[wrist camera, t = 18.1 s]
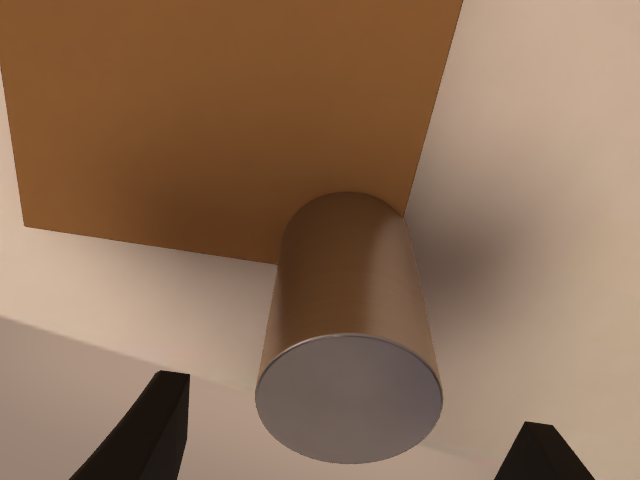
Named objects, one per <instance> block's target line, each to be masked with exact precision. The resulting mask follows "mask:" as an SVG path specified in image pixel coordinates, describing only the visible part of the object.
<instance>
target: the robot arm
mask: <svg viewBox="0 0 640 480" xmlns="http://www.w3.org/2000/svg"><path fill="white" fill-rule="evenodd" d="M189 384H190V374H184V373H177V372H170V371H162V370H161V371H159V372H157V373H156V374H155V375H154V376H153V378H152V379H151V381H150V382H149V384H148V385H147V387H146V388H145V389H144V391H143V392H142V393H141V395H140V396H139V398H138V399H137V401H136V402H135V403H134V404H133V405H132V407H131V408H130V409H129V411H128V412H127V413H126V415H125V416H124V417H123V418H122V420H121V421H120V422H119V423H118V424H117V426H116V427H115V428H114V429H113V430H112V432H111V433H110V434H109V435H108V436H107V437H106V439H105V440H104V441H103V442H102V443H101V444H100V446H99V447H98V448H97V449H96V451H94V453H93V454H92V455H91V456H90V457H89V458H88V459H87V461H86V462H85V463H84V464H83V465H82V466H81V467H80V468H79V469H78V470H77V471H76V472H75V473H74V475H72V477H71V478H70V479H69V480H177V477H178V473H179V469H180V465H181V461H182V457H183V453H184V449H185V445H186V441H187V427H188V407H189V405H188V404H189V386H190V385H189ZM494 480H595V479H594V477H593V476H592V475H591V474H590V472H589V471H588V470H587V469H586V467H585V466H584V465H583V463H582V462H581V461H580V459H579V458H578V457H577V456H576V454H575V453H574V452H573V450H572V449H571V448H570V447H569V445H568V444H567V443H566V441H565V440H564V439H563V438H562V436H561V435H560V434H559V433H558V431H557V430H556V429H555V428H554V426H553V425H548V424H541V423H534V422H526V421H525V422H524V424H523V426H522V428H521V430H520V432H519V434H518V435H517V437H516V439H515V441H514V443H513V445H512V447H511V449H510V451H509V452H508V454H507V456H506V458H505V460H504V462H503V464H502V466H501V467H500V469H499V471H498V473H497V475H496V477H495V479H494Z"/></svg>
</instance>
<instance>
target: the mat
mask: <svg viewBox="0 0 640 480" xmlns="http://www.w3.org/2000/svg"><path fill="white" fill-rule="evenodd" d="M462 3H463V0H0V66H1V73H2V80H3V87H4V93H5V100H6V107H7V113H8V120H9V127H10V134H11V140H12V147H13V154H14V160H15V167H16V174H17V181H18V187H19V194H20V201H21V207H22V214H23V221H24V226H25V227H31V228H38V229H44V230H51V231H57V232H64V233H71V234H77V235H84V236H91V237H97V238H104V239H110V240H117V241H124V242H130V243H137V244H143V245H150V246H157V247H163V248H170V249H177V250H183V251H190V252H196V253H203V254H210V255H216V256H223V257H230V258H236V259H243V260H249V261H256V262H263V263H269V264H276V265H278V261H279V255H280V250H281V244H282V239H283V234H284V231H285V229H286V226H287V225H288V223H289V221H290V219H291V218H292V217H293V216H294V214H295V213H296V212H297V211H298V210H299V209H300V208H302V207H303V206H304V205H306V204H307V203H309V202H311V201H312V200H314V199H316V198H319V197H321V196H324V195H328V194H331V193H338V192H356V193H362V194H367V195H370V196H373V197H376V198H378V199H380V200H382V201H384V202H385V203H387V204H388V205H390V206H391V207H392V208H393V209H394V210H396V211H397V212H398V214H399V215H400V216H401V217H402V218H403V216H404V213H405V209H406V206H407V202H408V198H409V195H410V191H411V188H412V184H413V180H414V177H415V173H416V169H417V166H418V162H419V159H420V155H421V151H422V148H423V144H424V141H425V137H426V133H427V130H428V126H429V123H430V119H431V115H432V112H433V108H434V104H435V101H436V97H437V94H438V90H439V86H440V83H441V79H442V76H443V72H444V68H445V65H446V61H447V57H448V54H449V50H450V47H451V43H452V39H453V36H454V32H455V29H456V25H457V21H458V18H459V14H460V10H461V7H462Z"/></svg>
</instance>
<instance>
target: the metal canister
mask: <svg viewBox="0 0 640 480" xmlns="http://www.w3.org/2000/svg"><path fill="white" fill-rule="evenodd" d="M255 401H256V408H257V411H258V414H259V417H260V419H261V421H262V423H263V424H264V426H265V427H266V429H267V430H268V431H269V432H270V434H271V435H273V436H274V438H275V439H277V440H278V441H279V442H281V443H282V444H283V445H285V446H286V447H288V448H289V449H291V450H293V451H295V452H297V453H299V454H301V455H304V456H307V457H309V458H312V459H316V460H320V461H324V462H330V463H339V464H361V463H370V462H376V461H380V460H384V459H388V458H391V457H394V456H396V455H399V454H401V453H403V452H405V451H407V450H409V449H411V448H412V447H414V446H415V445H417V444H418V443H419V442H421V441H422V440H423V439H424V438H425V437H426V436H427V435H428V434H429V433H430V432H431V430H432V429H433V428H434V426H435V425H436V423H437V421H438V419H439V417H440V413H441V410H442V406H443V389H442V385H441V380H440V375H439V370H438V365H437V361H436V356H435V351H434V346H433V341H432V337H431V332H430V327H429V322H428V317H427V313H426V308H425V303H424V298H423V293H422V289H421V284H420V279H419V274H418V269H417V265H416V260H415V255H414V250H413V245H412V241H411V236H410V233H409V230H408V227H407V225H406V223H405V222H404V220H403V218H402V217H401V216H400V215H399V214H398V212H397V211H396V210H394V209H393V208H392V207H391V206H390V205H388V204H387V203H385V202H384V201H382V200H380V199H378V198H376V197H373V196H370V195H367V194H362V193H356V192H338V193H331V194H328V195H324V196H321V197H319V198H316V199H314V200H312V201H311V202H309V203H307V204H306V205H304V206H303V207H302V208H300V209H299V210H298V211H297V212H296V213H295V214H294V216H293V217H292V218H291V219H290V221H289V223H288V225H287V226H286V229H285V231H284V234H283V239H282V244H281V250H280V255H279V261H278V267H277V272H276V278H275V284H274V289H273V295H272V300H271V306H270V312H269V317H268V323H267V329H266V334H265V340H264V345H263V351H262V357H261V362H260V368H259V374H258V379H257V385H256V391H255Z"/></svg>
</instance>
